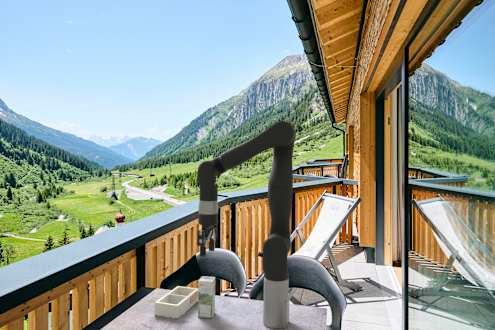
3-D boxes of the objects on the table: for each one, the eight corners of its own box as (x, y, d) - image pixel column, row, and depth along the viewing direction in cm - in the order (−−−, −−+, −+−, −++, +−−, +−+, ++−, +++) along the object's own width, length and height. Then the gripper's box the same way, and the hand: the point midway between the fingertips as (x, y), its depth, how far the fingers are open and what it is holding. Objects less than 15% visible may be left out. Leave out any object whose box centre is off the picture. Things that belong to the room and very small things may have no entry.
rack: (199, 300, 155) (199, 288, 155) (178, 319, 137) (178, 306, 137) (177, 297, 158) (177, 285, 158) (154, 315, 140) (154, 302, 140)
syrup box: (215, 312, 144) (215, 276, 143) (212, 319, 138) (212, 281, 137) (201, 311, 144) (201, 275, 144) (197, 318, 138) (198, 280, 138)
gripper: (210, 215, 132) (209, 259, 133) (223, 210, 146) (222, 250, 146) (191, 214, 134) (190, 257, 135) (206, 208, 148) (205, 248, 148)
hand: (207, 253), depth 140 cm, fingers open, 8 cm apart
